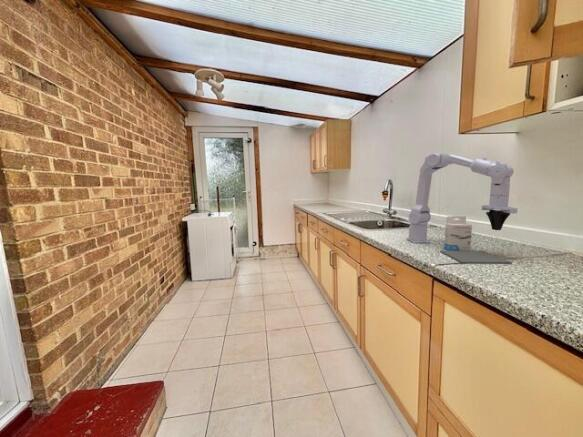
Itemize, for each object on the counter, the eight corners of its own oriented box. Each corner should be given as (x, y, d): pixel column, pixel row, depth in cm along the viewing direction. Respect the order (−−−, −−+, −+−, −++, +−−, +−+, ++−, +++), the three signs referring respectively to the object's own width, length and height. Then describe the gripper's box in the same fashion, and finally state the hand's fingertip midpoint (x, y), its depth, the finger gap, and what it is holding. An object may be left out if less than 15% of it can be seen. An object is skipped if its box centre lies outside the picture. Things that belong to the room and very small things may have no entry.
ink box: (449, 251, 108) (451, 217, 106) (443, 248, 113) (445, 216, 111) (470, 251, 107) (473, 217, 105) (464, 249, 112) (466, 216, 110)
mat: (439, 251, 108) (439, 250, 108) (481, 252, 106) (481, 250, 106) (461, 263, 92) (462, 261, 92) (511, 263, 90) (512, 262, 90)
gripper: (475, 195, 105) (473, 227, 107) (505, 196, 91) (502, 233, 93) (491, 194, 105) (489, 226, 107) (524, 195, 91) (520, 232, 93)
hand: (496, 229), depth 100 cm, fingers closed
